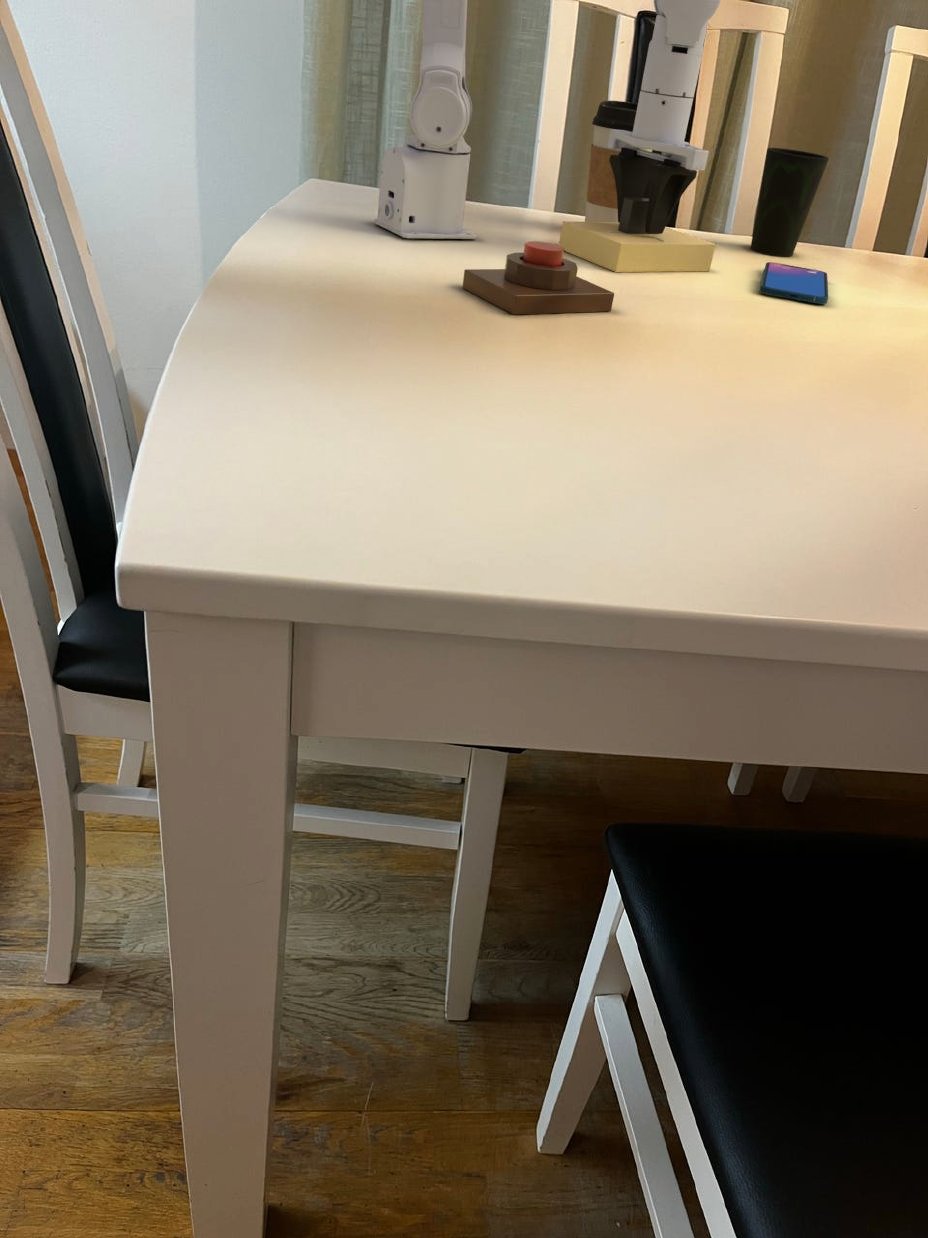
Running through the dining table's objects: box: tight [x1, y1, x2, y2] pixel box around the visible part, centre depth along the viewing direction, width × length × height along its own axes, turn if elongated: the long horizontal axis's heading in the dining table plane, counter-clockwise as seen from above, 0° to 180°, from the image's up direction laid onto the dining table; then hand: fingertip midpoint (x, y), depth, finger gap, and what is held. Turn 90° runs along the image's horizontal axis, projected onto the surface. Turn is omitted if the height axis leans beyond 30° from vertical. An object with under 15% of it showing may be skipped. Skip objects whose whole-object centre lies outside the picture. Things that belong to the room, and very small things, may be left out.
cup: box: [750, 147, 830, 258], centre depth 126 cm, size 8×8×12 cm
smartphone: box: [759, 261, 829, 305], centre depth 110 cm, size 7×1×15 cm
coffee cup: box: [584, 100, 653, 222], centre depth 121 cm, size 8×8×15 cm
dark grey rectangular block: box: [618, 197, 650, 234], centre depth 111 cm, size 5×2×4 cm, turn 120°
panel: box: [558, 220, 717, 273], centre depth 112 cm, size 14×11×3 cm
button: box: [523, 240, 565, 267], centre depth 89 cm, size 4×4×2 cm
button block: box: [462, 252, 615, 316], centre depth 90 cm, size 11×9×4 cm
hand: (639, 227), depth 111 cm, fingers open, 4 cm apart
